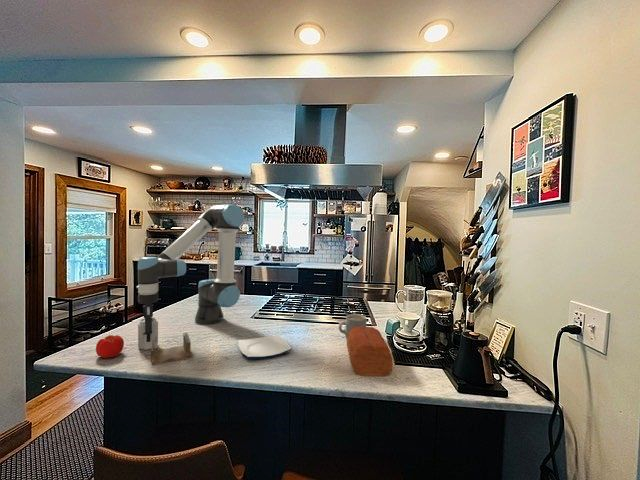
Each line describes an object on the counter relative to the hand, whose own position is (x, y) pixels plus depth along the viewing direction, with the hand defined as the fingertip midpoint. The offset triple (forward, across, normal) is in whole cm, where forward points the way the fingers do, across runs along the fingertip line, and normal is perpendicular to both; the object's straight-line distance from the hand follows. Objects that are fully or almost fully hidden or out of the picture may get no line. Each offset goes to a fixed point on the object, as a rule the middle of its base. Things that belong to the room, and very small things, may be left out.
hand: (148, 345), depth 128 cm
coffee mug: (+1, +32, +86) cm, 92 cm away
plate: (+1, +26, +43) cm, 50 cm away
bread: (+1, +55, +76) cm, 94 cm away
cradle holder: (+1, +14, +8) cm, 16 cm away
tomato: (+1, +3, -13) cm, 13 cm away
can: (+1, 0, 0) cm, 1 cm away
